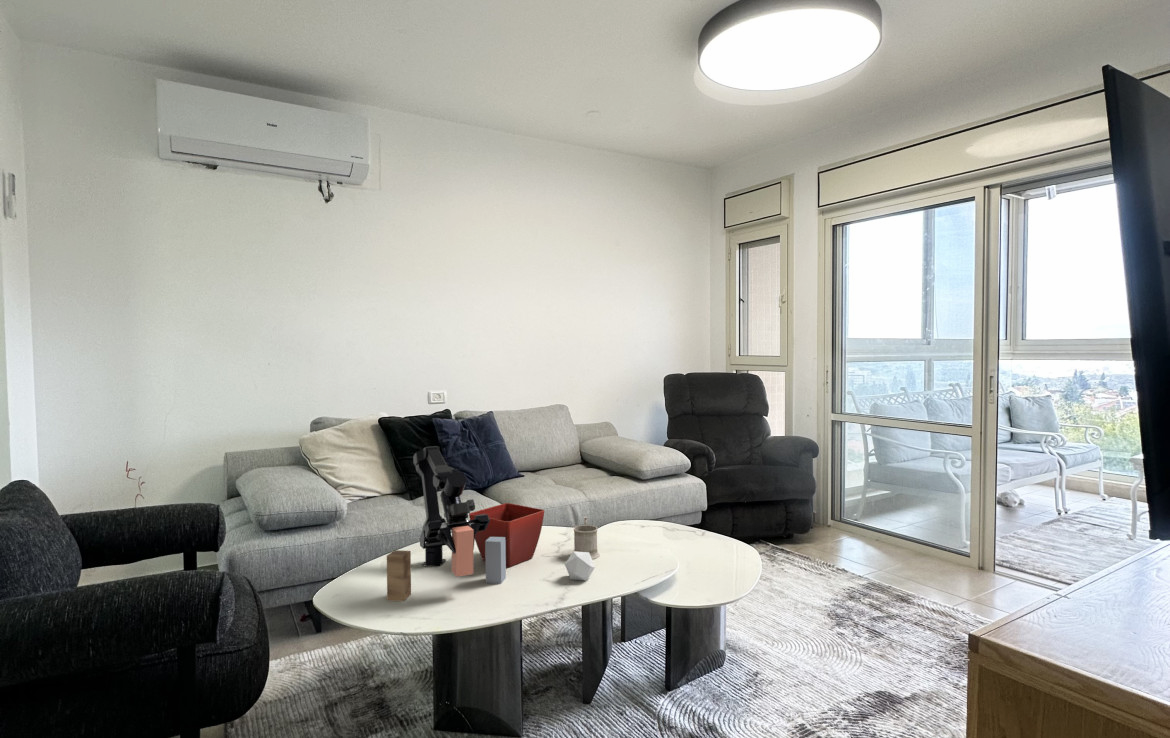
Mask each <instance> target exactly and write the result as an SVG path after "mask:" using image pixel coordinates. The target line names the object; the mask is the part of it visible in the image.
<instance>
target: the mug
mask: <svg viewBox="0 0 1170 738" xmlns="http://www.w3.org/2000/svg"><path fill="white" fill-rule="evenodd" d="M582 518H583V519H584V524H582V525H576V526H574V527H573V532H574V533H573V536H574V537H573V539H574V544H573V545H574V546H573V548H574V550H573V551H577V552H589V553H590V556H591V558H592V561H593V560H597V559H598V558H600V557H601V554H600V553H599V550H598V527H597V526H595V525H588V518H589V516H583V517H582Z"/></svg>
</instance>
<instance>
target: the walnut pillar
mask: <svg viewBox="0 0 1170 738" xmlns="http://www.w3.org/2000/svg"><path fill="white" fill-rule="evenodd" d="M411 554H412V553H411V550H396V549H395V550H393V551H391V552H389V553H388V554H387V555H386V601H389V602H391V601H395V602H405V601H406V600H407V599H408V598H409V597H411V595H412V564H411V562H412V560H411V558H412V555H411Z"/></svg>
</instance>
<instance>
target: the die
mask: <svg viewBox="0 0 1170 738" xmlns="http://www.w3.org/2000/svg"><path fill="white" fill-rule="evenodd" d="M564 565H565V568H566V570H567V571H566V572H567V574H568V577H569V578H570V580H574V581H584V582H587V581H588V580H589V578H590V577H591V575H592V573H593V572H594V570H595V568H596V566H595V564H594V561H593V560H592V558H591V556H590V553H589V552H577V551H574V550H573V551H572V552H571V554H570V556H569V557H568V558H567V560H566V562H565V563H564Z"/></svg>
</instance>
